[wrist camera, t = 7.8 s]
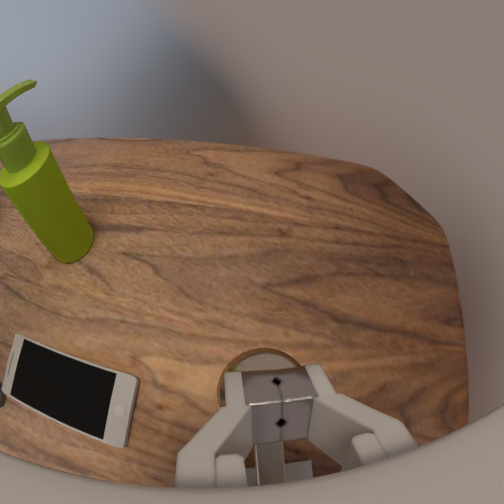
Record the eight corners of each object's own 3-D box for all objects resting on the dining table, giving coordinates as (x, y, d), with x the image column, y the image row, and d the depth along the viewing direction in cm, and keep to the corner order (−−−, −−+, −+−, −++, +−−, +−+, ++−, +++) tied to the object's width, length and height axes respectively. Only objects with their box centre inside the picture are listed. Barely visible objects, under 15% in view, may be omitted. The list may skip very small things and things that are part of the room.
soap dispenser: (108, 229, 33) (44, 78, 15) (69, 272, 29) (-28, 134, 12) (81, 208, 34) (21, 73, 17) (45, 247, 31) (-39, 120, 14)
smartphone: (126, 449, 21) (122, 449, 20) (5, 392, 21) (0, 391, 20) (140, 377, 24) (137, 376, 24) (20, 334, 25) (15, 331, 24)
